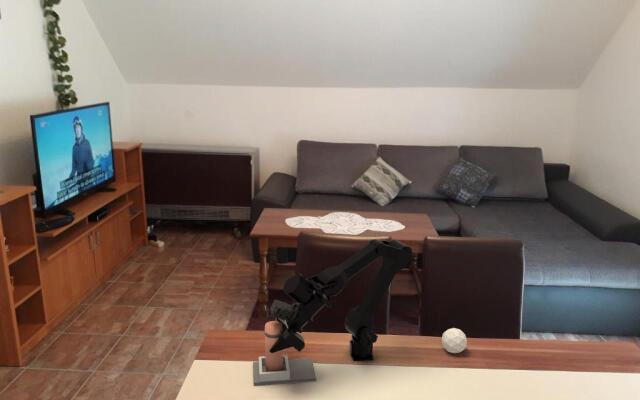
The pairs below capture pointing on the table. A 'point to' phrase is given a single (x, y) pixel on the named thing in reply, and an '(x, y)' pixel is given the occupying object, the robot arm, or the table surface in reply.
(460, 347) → the geometric ball
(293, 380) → the jig
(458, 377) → the table surface
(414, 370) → the table surface
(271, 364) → the banded pink rod
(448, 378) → the table surface
